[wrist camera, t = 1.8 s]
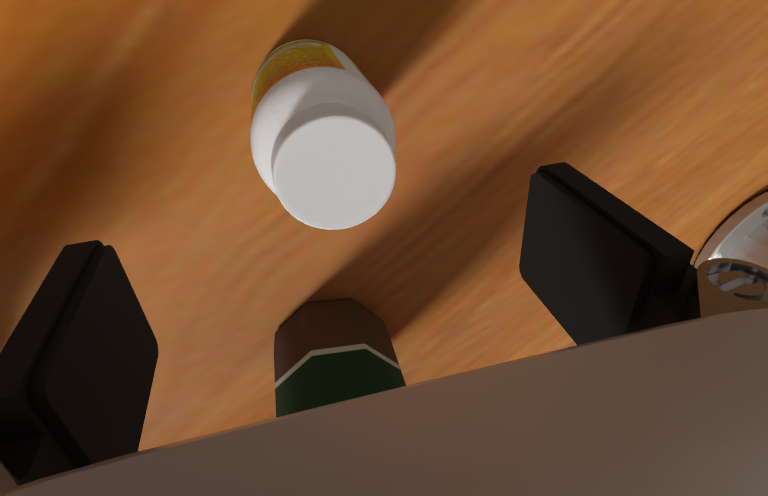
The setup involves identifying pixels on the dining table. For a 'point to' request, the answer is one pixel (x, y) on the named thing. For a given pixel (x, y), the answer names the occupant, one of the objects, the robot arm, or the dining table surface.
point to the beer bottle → (332, 356)
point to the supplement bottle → (322, 135)
